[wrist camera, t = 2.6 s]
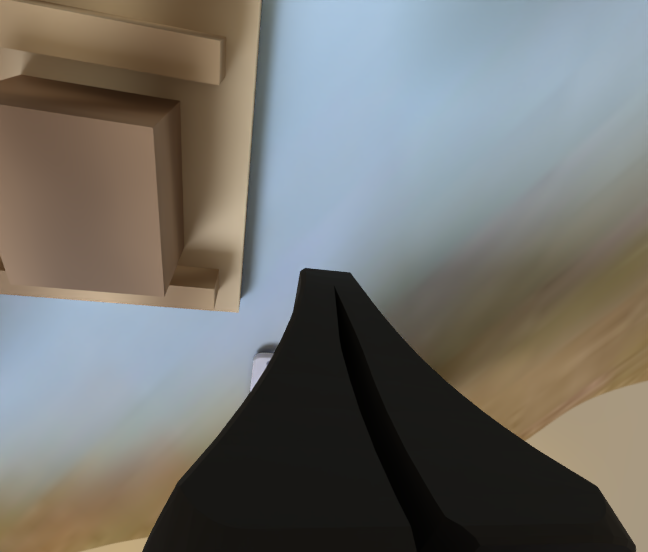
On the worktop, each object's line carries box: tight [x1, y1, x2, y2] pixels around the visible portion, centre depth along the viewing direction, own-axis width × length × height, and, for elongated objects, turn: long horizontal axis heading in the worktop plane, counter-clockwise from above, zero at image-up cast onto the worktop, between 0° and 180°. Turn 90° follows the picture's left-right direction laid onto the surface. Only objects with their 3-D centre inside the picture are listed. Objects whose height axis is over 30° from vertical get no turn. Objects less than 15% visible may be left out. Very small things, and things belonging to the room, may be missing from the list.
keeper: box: [0, 75, 184, 297], centre depth 13 cm, size 5×6×4 cm
